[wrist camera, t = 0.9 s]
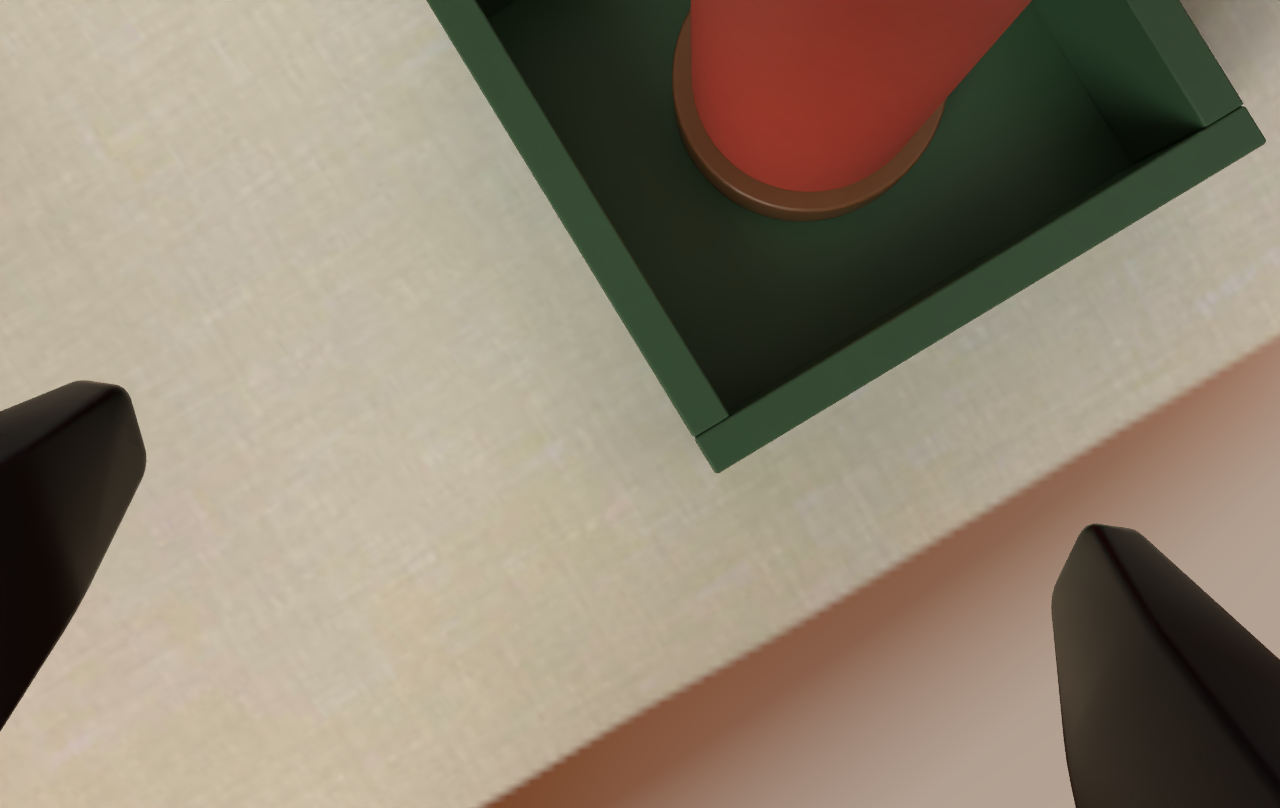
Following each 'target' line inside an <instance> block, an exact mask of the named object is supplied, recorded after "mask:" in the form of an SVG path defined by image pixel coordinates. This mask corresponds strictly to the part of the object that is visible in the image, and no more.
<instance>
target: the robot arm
mask: <svg viewBox="0 0 1280 808" xmlns="http://www.w3.org/2000/svg"><path fill="white" fill-rule="evenodd" d="M145 467H146V451H145V447H144V443H143V440H142V436H141V433H140V429H139V426H138V422H137V419H136V415H135V411H134V408H133V404H132V401H131V398H130V396H129V394H128V393H127V391H126V390H125V389H124V388H122V387H120V386H118V385H114V384H107V383H100V382H93V381H75V382H72V383H69V384H67V385H64V386H62V387H60V388H57V389H55V390H52V391H50V392H47V393H45V394H42V395H40V396H37V397H35V398H32V399H30V400H28V401H25V402H23V403H20V404H18V405H15V406H13V407H10V408H8V409H5V410H3V411H0V731H1V730H2V728H3V726H4V725H5V723H6V722H7V720H8V719H9V717H10V715H11V714H12V712H13V711H14V709H15V708H16V706H17V704H18V703H19V701H20V700H21V698H22V697H23V695H24V693H25V692H26V690H27V689H28V687H29V686H30V684H31V682H32V681H33V679H34V678H35V676H36V675H37V673H38V671H39V670H40V668H41V667H42V665H43V663H44V662H45V660H46V659H47V657H48V656H49V654H50V652H51V651H52V649H53V648H54V646H55V645H56V643H57V641H58V640H59V638H60V637H61V635H62V634H63V632H64V630H65V629H66V627H67V625H68V624H69V622H70V620H71V619H72V617H73V615H74V614H75V612H76V610H77V608H78V607H79V605H80V603H81V601H82V599H83V597H84V595H85V594H86V592H87V590H88V588H89V586H90V584H91V582H92V580H93V578H94V576H95V574H96V572H97V570H98V568H99V566H100V564H101V561H102V559H103V557H104V555H105V553H106V551H107V549H108V547H109V545H110V543H111V541H112V539H113V537H114V535H115V533H116V531H117V529H118V527H119V525H120V523H121V521H122V519H123V517H124V515H125V513H126V510H127V508H128V506H129V504H130V502H131V500H132V498H133V496H134V494H135V492H136V490H137V488H138V486H139V484H140V482H141V480H142V477H143V475H144V471H145ZM1052 621H1053V631H1054V641H1055V651H1056V661H1057V673H1058V683H1059V694H1060V704H1061V715H1062V725H1063V736H1064V744H1065V752H1066V760H1067V766H1068V771H1069V776H1070V782H1071V787H1072V792H1073V796H1074V801H1075V805H1076V808H1280V660H1279V659H1278V658H1277V657H1276V656H1275V655H1274V654H1273V653H1272V652H1271V651H1269V650H1268V649H1267V648H1266V647H1265V646H1264V645H1263V644H1261V642H1260V641H1258V640H1257V639H1256V638H1255V637H1254V636H1253V635H1252V634H1251V633H1250V632H1248V631H1247V630H1246V629H1245V628H1244V627H1243V626H1242V625H1241V624H1240V623H1239V622H1237V621H1236V620H1235V619H1234V618H1233V617H1232V616H1231V615H1230V614H1229V613H1228V612H1226V611H1225V610H1224V609H1223V608H1222V607H1221V606H1220V605H1219V604H1218V603H1216V602H1215V601H1214V600H1213V599H1212V598H1211V597H1210V596H1209V595H1208V594H1207V593H1205V592H1204V591H1203V590H1202V589H1201V588H1200V587H1199V586H1198V585H1196V584H1195V582H1193V581H1192V580H1191V579H1190V578H1189V577H1188V576H1187V575H1186V574H1184V573H1183V572H1182V571H1181V570H1180V569H1179V568H1178V567H1177V566H1176V565H1175V564H1174V563H1172V562H1171V561H1170V560H1169V559H1168V558H1167V557H1166V556H1164V554H1163V553H1161V552H1160V551H1159V550H1158V549H1157V548H1156V547H1155V546H1154V545H1153V544H1151V543H1150V542H1149V541H1148V540H1147V539H1146V538H1145V537H1144V536H1143V535H1141V534H1140V533H1139V532H1137V531H1135V530H1133V529H1129V528H1123V527H1116V526H1109V525H1102V524H1092V525H1089V526H1086V527H1085V528H1084V529H1083V530H1082V531H1081V533H1080V535H1079V536H1078V538H1077V541H1076V542H1075V545H1074V546H1073V549H1072V551H1071V553H1070V555H1069V557H1068V559H1067V561H1066V563H1065V565H1064V567H1063V570H1062V571H1061V574H1060V576H1059V578H1058V580H1057V582H1056V585H1055V587H1054V591H1053V596H1052Z"/></svg>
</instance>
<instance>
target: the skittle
mask: <svg viewBox="0 0 1280 808" xmlns="http://www.w3.org/2000/svg"><path fill="white" fill-rule="evenodd" d="M1031 1H1032V0H691V8H690V10H689V12H688V14H687V16H686V18H685V20H684V22H683V24H682V27H681V30H680V32H679V35H678V38H677V42H676V47H675V51H674V56H673V66H672V91H673V106H674V112H675V118H676V123H677V127H678V130H679V133H680V136H681V139H682V142H683V144H684V146H685V148H686V150H687V152H688V154H689V156H690V158H691V159H692V161H693V162H694V164H695V165H696V167H697V169H698V170H699V171H700V172H701V174H702V175H703V176H704V177H705V178H706V179H707V181H708V182H709V183H710V184H711V185H712V186H714V187H715V188H716V189H717V190H718V191H719V192H720V193H721V194H723V195H724V196H726V197H727V198H728V199H730V200H731V201H733V202H734V203H736V204H738V205H740V206H742V207H744V208H746V209H748V210H750V211H752V212H755V213H757V214H760V215H763V216H766V217H770V218H775V219H779V220H785V221H798V222H805V221H820V220H825V219H830V218H836V217H839V216H842V215H845V214H848V213H851V212H853V211H855V210H858V209H860V208H862V207H864V206H866V205H868V204H870V203H871V202H873V201H874V200H876V199H877V198H879V197H880V196H882V195H883V194H884V193H886V192H887V191H888V190H889V189H890V188H892V187H893V186H894V185H895V184H896V183H897V182H898V181H899V180H900V179H901V178H902V177H903V176H904V175H905V174H906V173H907V172H908V171H909V170H910V169H911V168H912V167H913V165H914V164H915V163H916V162H917V161H918V160H919V159H920V157H921V156H922V154H923V153H924V151H925V150H926V149H927V147H928V146H929V144H930V142H931V140H932V138H933V136H934V134H935V133H936V131H937V129H938V126H939V123H940V121H941V118H942V115H943V112H944V109H945V104H946V100H947V97H948V96H949V95H950V93H951V92H952V91H953V90H954V89H955V88H956V87H957V85H958V84H959V83H960V82H961V81H962V80H963V79H964V77H965V76H966V75H967V74H968V73H969V72H970V71H971V69H972V68H973V67H974V66H975V65H976V64H977V63H978V61H979V60H980V59H981V58H982V57H983V56H984V55H985V53H986V52H987V51H988V50H989V49H990V48H991V47H992V45H993V44H994V43H995V42H996V41H997V40H998V39H999V37H1000V36H1001V35H1002V34H1003V33H1004V32H1005V31H1006V29H1007V28H1008V27H1009V26H1010V25H1011V24H1012V23H1013V21H1014V20H1015V19H1016V18H1017V17H1018V16H1019V15H1020V13H1021V12H1022V11H1023V10H1024V9H1025V8H1026V7H1027V5H1028V4H1029V3H1030V2H1031Z"/></svg>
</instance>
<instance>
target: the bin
mask: <svg viewBox="0 0 1280 808" xmlns="http://www.w3.org/2000/svg"><path fill="white" fill-rule="evenodd" d="M427 2H428V4H429V5H430V7H431V9H432V10H433V12H434V13H435V15H436V17H437V18H438V20H439V22H440V23H441V25H442V27H443V28H444V30H445V31H446V33H447V35H448V36H449V38H450V40H451V41H452V43H453V45H454V46H455V48H456V49H457V51H458V53H459V54H460V56H461V58H462V59H463V61H464V63H465V64H466V66H467V67H468V69H469V71H470V72H471V74H472V76H473V77H474V79H475V81H476V82H477V84H478V85H479V87H480V89H481V90H482V92H483V94H484V95H485V97H486V99H487V100H488V102H489V104H490V105H491V107H492V108H493V110H494V112H495V113H496V115H497V117H498V118H499V120H500V122H501V123H502V125H503V126H504V128H505V130H506V131H507V133H508V135H509V136H510V138H511V140H512V141H513V143H514V144H515V146H516V148H517V149H518V151H519V153H520V154H521V156H522V158H523V159H524V161H525V162H526V164H527V166H528V167H529V169H530V171H531V172H532V174H533V176H534V177H535V179H536V180H537V182H538V184H539V185H540V187H541V189H542V190H543V192H544V194H545V195H546V197H547V198H548V200H549V202H550V203H551V205H552V207H553V208H554V210H555V212H556V213H557V215H558V217H559V218H560V220H561V221H562V223H563V225H564V226H565V228H566V230H567V231H568V233H569V235H570V236H571V238H572V239H573V241H574V243H575V244H576V246H577V248H578V249H579V251H580V253H581V254H582V256H583V257H584V259H585V261H586V262H587V264H588V266H589V267H590V269H591V271H592V272H593V274H594V275H595V277H596V279H597V280H598V282H599V284H600V285H601V287H602V289H603V290H604V292H605V293H606V295H607V297H608V298H609V300H610V302H611V303H612V305H613V307H614V308H615V310H616V312H617V313H618V315H619V316H620V318H621V320H622V321H623V323H624V325H625V326H626V328H627V330H628V331H629V333H630V334H631V336H632V338H633V339H634V341H635V343H636V344H637V346H638V348H639V349H640V351H641V352H642V354H643V356H644V357H645V359H646V361H647V362H648V364H649V366H650V367H651V369H652V370H653V372H654V374H655V375H656V377H657V379H658V380H659V382H660V384H661V385H662V387H663V388H664V390H665V392H666V393H667V395H668V397H669V398H670V400H671V402H672V403H673V405H674V406H675V408H676V410H677V411H678V413H679V415H680V416H681V418H682V420H683V421H684V423H685V425H686V426H687V428H688V429H689V431H690V433H691V434H692V436H694V437H695V440H696V443H697V444H698V446H699V447H700V449H701V451H702V452H703V454H704V456H705V457H706V459H707V461H708V462H709V464H710V465H711V467H712V469H713V470H714V472H715V473H720V472H721V471H723V470H725V469H726V468H728V467H730V466H731V465H733V464H735V463H736V462H738V461H740V460H741V459H743V458H745V457H746V456H748V455H750V454H751V453H753V452H755V451H756V450H758V449H760V448H761V447H763V446H764V445H766V444H768V443H769V442H771V441H773V440H774V439H776V438H778V437H779V436H781V435H783V434H784V433H786V432H788V431H789V430H791V429H793V428H794V427H796V426H798V425H799V424H801V423H803V422H804V421H806V420H808V419H809V418H811V417H813V416H814V415H816V414H818V413H819V412H821V411H823V410H824V409H826V408H827V407H829V406H831V405H832V404H834V403H836V402H837V401H839V400H841V399H842V398H844V397H846V396H847V395H849V394H851V393H852V392H854V391H856V390H857V389H859V388H861V387H862V386H864V385H866V384H867V383H869V382H871V381H872V380H874V379H876V378H877V377H879V376H881V375H882V374H884V373H885V372H887V371H889V370H890V369H892V368H894V367H895V366H897V365H899V364H900V363H902V362H904V361H905V360H907V359H909V358H910V357H912V356H914V355H915V354H917V353H919V352H920V351H922V350H924V349H925V348H927V347H929V346H930V345H932V344H934V343H935V342H937V341H939V340H940V339H942V338H944V337H945V336H947V335H948V334H950V333H952V332H953V331H955V330H957V329H958V328H960V327H962V326H963V325H965V324H967V323H968V322H970V321H972V320H973V319H975V318H977V317H978V316H980V315H982V314H983V313H985V312H987V311H988V310H990V309H992V308H993V307H995V306H997V305H998V304H1000V303H1002V302H1003V301H1005V300H1007V299H1008V298H1010V297H1011V296H1013V295H1015V294H1016V293H1018V292H1020V291H1021V290H1023V289H1025V288H1026V287H1028V286H1030V285H1031V284H1033V283H1035V282H1036V281H1038V280H1040V279H1041V278H1043V277H1045V276H1046V275H1048V274H1050V273H1051V272H1053V271H1055V270H1056V269H1058V268H1060V267H1061V266H1063V265H1065V264H1066V263H1068V262H1069V261H1071V260H1073V259H1074V258H1076V257H1078V256H1079V255H1081V254H1083V253H1084V252H1086V251H1088V250H1089V249H1091V248H1093V247H1094V246H1096V245H1098V244H1099V243H1101V242H1103V241H1104V240H1106V239H1108V238H1109V237H1111V236H1113V235H1114V234H1116V233H1118V232H1119V231H1121V230H1123V229H1124V228H1126V227H1128V226H1129V225H1131V224H1132V223H1134V222H1136V221H1137V220H1139V219H1141V218H1142V217H1144V216H1146V215H1147V214H1149V213H1151V212H1152V211H1154V210H1156V209H1157V208H1159V207H1161V206H1162V205H1164V204H1166V203H1167V202H1169V201H1171V200H1172V199H1174V198H1176V197H1177V196H1179V195H1181V194H1182V193H1184V192H1186V191H1187V190H1189V189H1191V188H1192V187H1194V186H1195V185H1197V184H1199V183H1200V182H1202V181H1204V180H1205V179H1207V178H1209V177H1210V176H1212V175H1214V174H1215V173H1217V172H1219V171H1220V170H1222V169H1224V168H1225V167H1227V166H1229V165H1230V164H1232V163H1234V162H1235V161H1237V160H1239V159H1240V158H1242V157H1244V156H1245V155H1247V154H1249V153H1250V152H1252V151H1253V150H1255V149H1257V148H1258V147H1260V146H1262V145H1263V144H1264V143H1265V142H1266V139H1265V138H1264V136H1263V135H1262V133H1261V131H1260V130H1259V128H1258V126H1257V125H1256V123H1255V122H1254V120H1253V118H1252V117H1251V115H1250V114H1249V112H1248V110H1247V109H1246V107H1244V106H1241V105H1242V104H1243V103H1242V100H1241V99H1240V97H1239V96H1238V94H1237V92H1236V91H1235V89H1234V88H1233V86H1232V84H1231V83H1230V81H1229V80H1228V78H1227V76H1226V75H1225V73H1224V72H1223V70H1222V68H1221V67H1220V65H1219V64H1218V62H1217V60H1216V59H1215V57H1214V56H1213V54H1212V52H1211V51H1210V49H1209V47H1208V46H1207V44H1206V43H1205V41H1204V39H1203V38H1202V36H1201V35H1200V33H1199V31H1198V30H1197V28H1196V27H1195V25H1194V23H1193V22H1192V20H1191V19H1190V17H1189V15H1188V14H1187V12H1186V11H1185V9H1184V7H1183V6H1182V4H1181V3H1180V1H1179V0H1032V1H1031V2H1030V3H1029V4H1028V5H1027V7H1026V8H1025V9H1024V10H1023V11H1022V12H1021V13H1020V15H1019V16H1018V17H1017V18H1016V19H1015V20H1014V21H1013V23H1012V24H1011V25H1010V26H1009V27H1008V28H1007V29H1006V31H1005V32H1004V33H1003V34H1002V35H1001V36H1000V37H999V39H998V40H997V41H996V42H995V43H994V44H993V45H992V47H991V48H990V49H989V50H988V51H987V52H986V53H985V55H984V56H983V57H982V58H981V59H980V60H979V61H978V63H977V64H976V65H975V66H974V67H973V68H972V69H971V71H970V72H969V73H968V74H967V75H966V76H965V77H964V79H963V80H962V81H961V82H960V83H959V84H958V85H957V87H956V88H955V89H954V90H953V91H952V92H951V93H950V95H949V96H948V97H947V100H946V104H945V109H944V112H943V115H942V118H941V121H940V123H939V126H938V129H937V131H936V133H935V134H934V136H933V138H932V140H931V142H930V144H929V146H928V147H927V149H926V150H925V151H924V153H923V154H922V156H921V157H920V159H919V160H918V161H917V162H916V163H915V164H914V165H913V167H912V168H911V169H910V170H909V171H908V172H907V173H906V174H905V175H904V176H903V177H902V178H901V179H900V180H899V181H898V182H897V183H896V184H895V185H894V186H893V187H892V188H890V189H889V190H888V191H887V192H886V193H884V194H883V195H882V196H880V197H879V198H877V199H876V200H874V201H873V202H871V203H870V204H868V205H866V206H864V207H862V208H860V209H858V210H855V211H853V212H851V213H848V214H845V215H842V216H839V217H836V218H830V219H825V220H820V221H805V222H798V221H785V220H779V219H775V218H770V217H766V216H763V215H760V214H757V213H755V212H752V211H750V210H748V209H746V208H744V207H742V206H740V205H738V204H736V203H734V202H733V201H731V200H730V199H728V198H727V197H726V196H724V195H723V194H721V193H720V192H719V191H718V190H717V189H716V188H715V187H714V186H712V185H711V184H710V183H709V182H708V181H707V179H706V178H705V177H704V176H703V175H702V174H701V172H700V171H699V170H698V169H697V167H696V165H695V164H694V162H693V161H692V159H691V158H690V156H689V154H688V152H687V150H686V148H685V146H684V144H683V142H682V139H681V136H680V133H679V130H678V127H677V123H676V118H675V112H674V106H673V91H672V66H673V56H674V51H675V47H676V42H677V38H678V35H679V32H680V30H681V27H682V24H683V22H684V20H685V18H686V16H687V14H688V12H689V10H690V8H691V0H427Z"/></svg>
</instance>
